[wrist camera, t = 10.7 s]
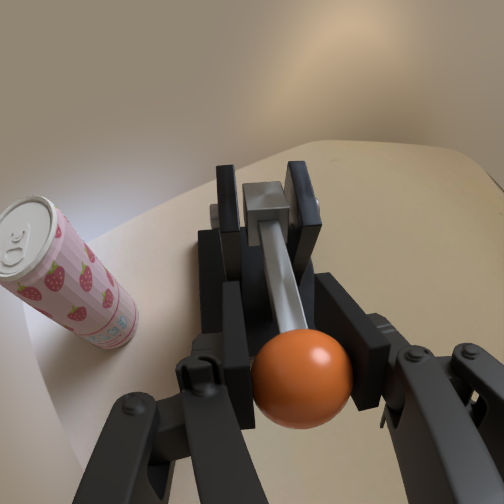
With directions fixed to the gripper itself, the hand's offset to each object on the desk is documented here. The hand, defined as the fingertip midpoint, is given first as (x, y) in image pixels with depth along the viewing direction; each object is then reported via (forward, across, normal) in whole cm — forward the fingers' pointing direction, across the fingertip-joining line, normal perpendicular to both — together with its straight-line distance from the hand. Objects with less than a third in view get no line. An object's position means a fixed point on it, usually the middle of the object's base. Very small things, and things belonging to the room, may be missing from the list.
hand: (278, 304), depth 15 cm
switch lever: (0, 0, 0) cm, 0 cm away
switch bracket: (+12, 0, -5) cm, 13 cm away
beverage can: (+11, -14, -6) cm, 19 cm away
